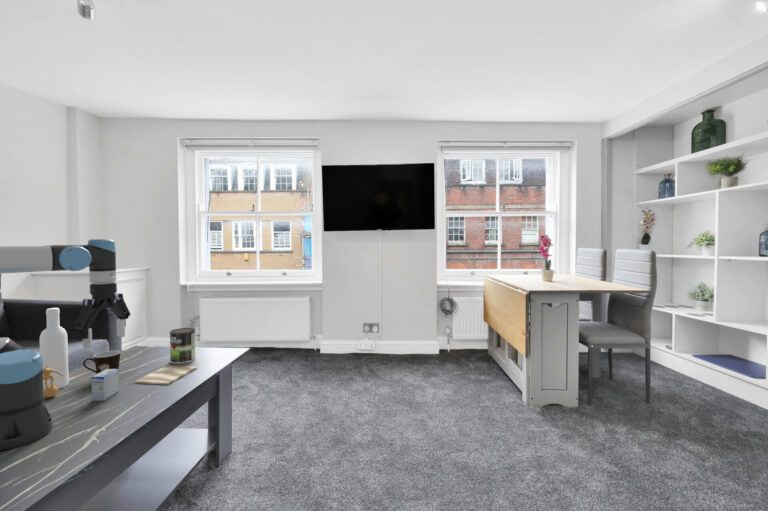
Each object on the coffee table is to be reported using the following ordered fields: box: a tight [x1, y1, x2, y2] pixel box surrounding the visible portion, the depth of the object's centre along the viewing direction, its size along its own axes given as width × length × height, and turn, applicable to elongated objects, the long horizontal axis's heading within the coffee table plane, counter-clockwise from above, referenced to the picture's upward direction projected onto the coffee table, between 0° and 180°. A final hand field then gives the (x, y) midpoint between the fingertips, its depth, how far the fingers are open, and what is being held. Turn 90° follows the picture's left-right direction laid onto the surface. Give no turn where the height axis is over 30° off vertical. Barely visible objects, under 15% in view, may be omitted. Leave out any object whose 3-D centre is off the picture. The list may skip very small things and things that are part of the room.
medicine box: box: [91, 368, 120, 402], centre depth 129 cm, size 8×4×9 cm, turn 6°
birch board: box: [134, 364, 198, 386], centre depth 149 cm, size 18×14×1 cm
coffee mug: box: [82, 350, 121, 375], centre depth 145 cm, size 12×9×10 cm
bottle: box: [39, 307, 70, 391], centre depth 136 cm, size 8×8×30 cm
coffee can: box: [169, 327, 196, 365], centre depth 167 cm, size 10×10×14 cm
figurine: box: [43, 366, 63, 399], centre depth 126 cm, size 8×6×12 cm
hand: (105, 341), depth 128 cm, fingers open, 13 cm apart
